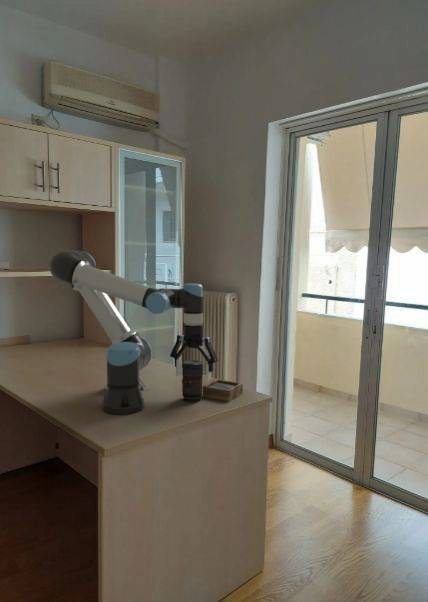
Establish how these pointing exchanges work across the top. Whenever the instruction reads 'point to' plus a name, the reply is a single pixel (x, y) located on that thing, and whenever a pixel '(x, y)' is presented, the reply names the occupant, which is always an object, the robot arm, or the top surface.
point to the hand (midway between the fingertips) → (193, 377)
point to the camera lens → (192, 380)
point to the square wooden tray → (222, 390)
